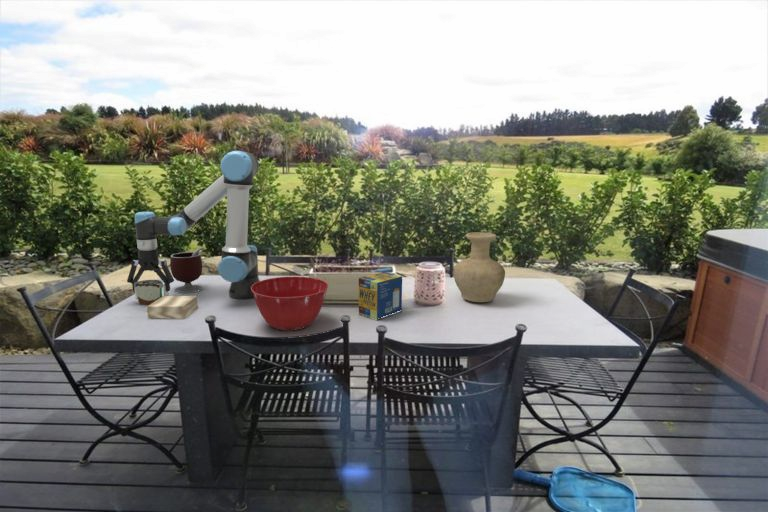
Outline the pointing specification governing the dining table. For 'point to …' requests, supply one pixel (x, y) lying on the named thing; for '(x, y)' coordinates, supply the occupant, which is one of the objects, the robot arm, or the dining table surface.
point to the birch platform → (172, 307)
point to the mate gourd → (186, 270)
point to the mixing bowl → (289, 300)
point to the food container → (148, 291)
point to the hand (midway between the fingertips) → (152, 298)
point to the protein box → (380, 294)
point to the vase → (479, 270)
